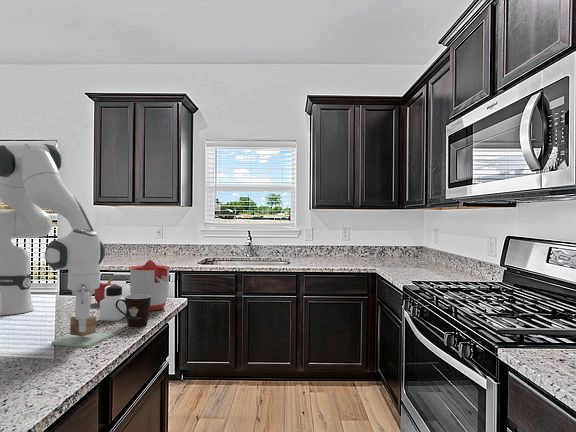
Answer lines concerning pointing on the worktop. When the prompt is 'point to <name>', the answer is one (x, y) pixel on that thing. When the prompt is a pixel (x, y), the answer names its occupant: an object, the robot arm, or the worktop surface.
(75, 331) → the walnut cube
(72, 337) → the plate
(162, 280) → the citrus juicer
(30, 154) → the robot arm
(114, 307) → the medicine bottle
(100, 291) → the vegetable
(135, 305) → the coffee mug
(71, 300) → the worktop surface
